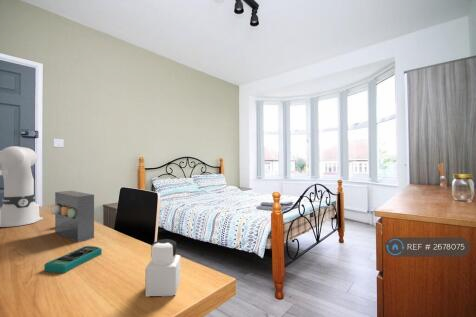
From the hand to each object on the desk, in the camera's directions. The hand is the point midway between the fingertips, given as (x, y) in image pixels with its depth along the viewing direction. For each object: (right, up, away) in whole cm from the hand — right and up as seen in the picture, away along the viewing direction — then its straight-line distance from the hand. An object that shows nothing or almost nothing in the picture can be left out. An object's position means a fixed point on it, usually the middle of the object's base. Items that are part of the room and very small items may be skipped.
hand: (6, 172), depth 85 cm
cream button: (+7, -19, +15) cm, 25 cm away
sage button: (+18, -19, +9) cm, 27 cm away
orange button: (+13, -19, +12) cm, 26 cm away
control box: (+14, -28, +15) cm, 35 cm away
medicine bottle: (+66, -28, -26) cm, 77 cm away
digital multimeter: (+33, -29, -11) cm, 45 cm away
